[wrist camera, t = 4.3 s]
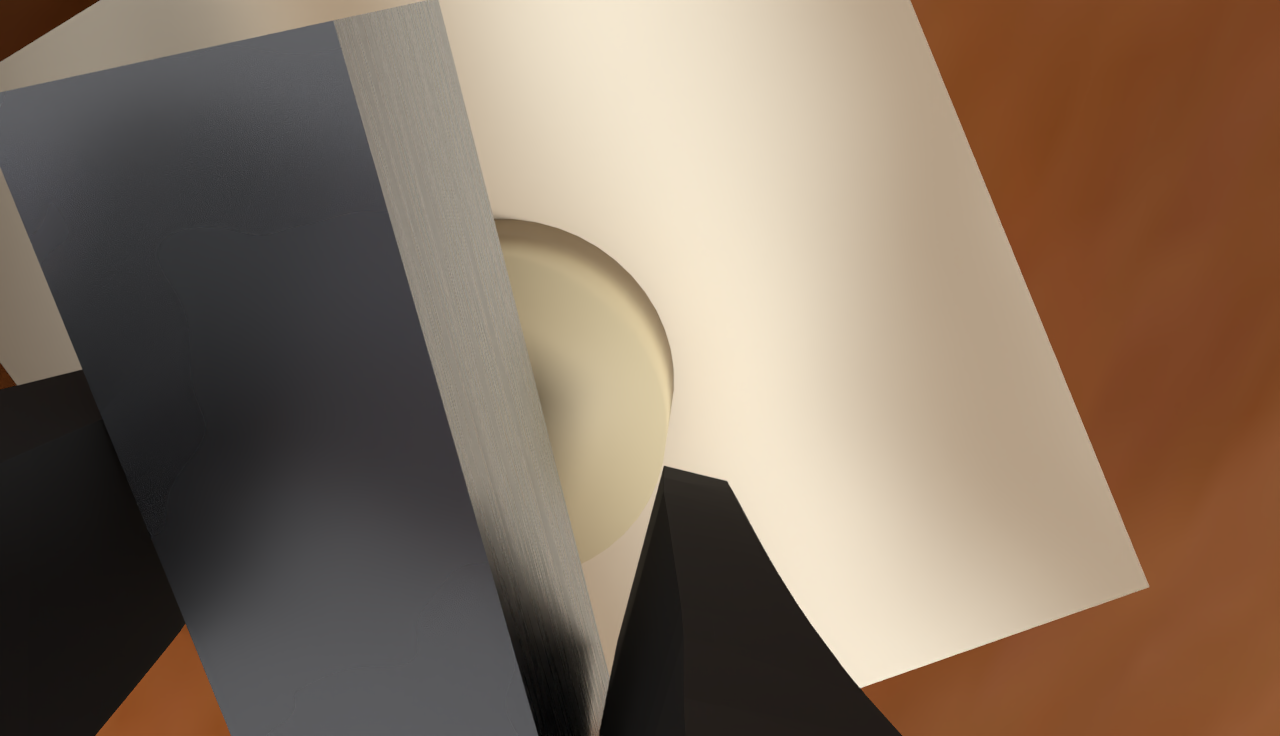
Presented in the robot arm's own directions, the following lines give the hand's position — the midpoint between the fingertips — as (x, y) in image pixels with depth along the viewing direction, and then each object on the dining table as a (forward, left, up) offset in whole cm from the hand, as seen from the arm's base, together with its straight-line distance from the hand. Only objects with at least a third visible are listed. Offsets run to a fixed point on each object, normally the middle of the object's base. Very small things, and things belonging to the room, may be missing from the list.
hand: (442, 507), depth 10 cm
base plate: (0, 0, -5) cm, 5 cm away
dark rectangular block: (0, 0, -2) cm, 2 cm away
